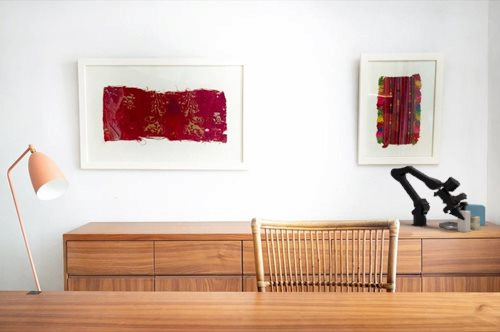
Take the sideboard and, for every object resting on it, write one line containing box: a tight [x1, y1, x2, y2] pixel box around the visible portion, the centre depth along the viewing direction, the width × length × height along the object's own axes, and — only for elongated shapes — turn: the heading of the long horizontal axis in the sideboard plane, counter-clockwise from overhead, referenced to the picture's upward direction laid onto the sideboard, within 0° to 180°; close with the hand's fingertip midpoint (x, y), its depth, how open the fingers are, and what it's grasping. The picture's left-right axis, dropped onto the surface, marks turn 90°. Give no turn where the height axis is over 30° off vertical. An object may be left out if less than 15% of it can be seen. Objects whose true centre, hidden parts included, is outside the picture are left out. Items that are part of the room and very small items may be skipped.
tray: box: [438, 220, 458, 228], centre depth 244 cm, size 11×11×2 cm
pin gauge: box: [439, 225, 458, 230], centre depth 239 cm, size 10×2×2 cm
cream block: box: [457, 210, 471, 233], centre depth 231 cm, size 4×5×11 cm
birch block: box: [470, 216, 481, 231], centre depth 238 cm, size 6×6×7 cm
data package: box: [466, 203, 486, 227], centre depth 253 cm, size 12×4×12 cm, turn 72°
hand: (466, 219), depth 230 cm, fingers closed on cream block, 5 cm apart
